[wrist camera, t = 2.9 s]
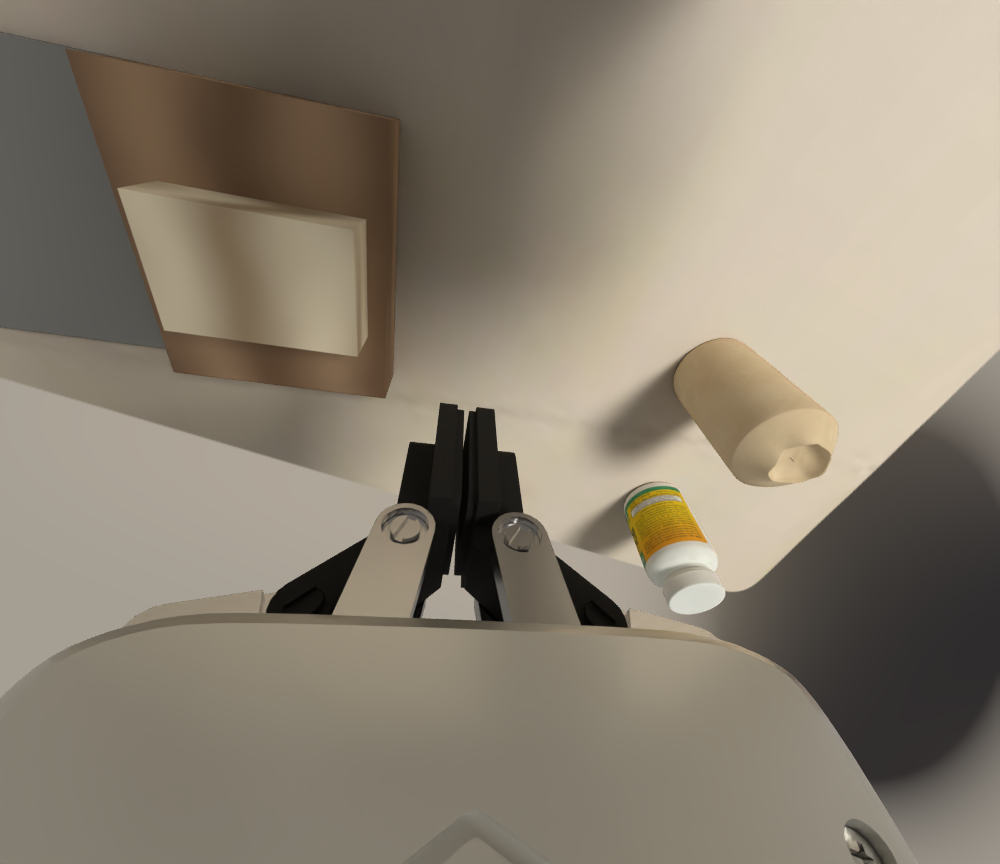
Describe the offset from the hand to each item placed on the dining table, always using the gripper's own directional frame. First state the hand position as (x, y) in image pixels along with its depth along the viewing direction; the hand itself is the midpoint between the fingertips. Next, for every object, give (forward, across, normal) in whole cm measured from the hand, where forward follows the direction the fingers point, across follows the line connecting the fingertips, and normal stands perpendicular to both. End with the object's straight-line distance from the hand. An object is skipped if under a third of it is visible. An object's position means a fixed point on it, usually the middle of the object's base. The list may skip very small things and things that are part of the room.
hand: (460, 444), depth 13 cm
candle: (+15, -18, +3) cm, 23 cm away
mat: (+15, +22, -1) cm, 27 cm away
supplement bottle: (+15, -19, +16) cm, 29 cm away
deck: (+15, +10, -1) cm, 18 cm away
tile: (+11, +10, -1) cm, 14 cm away
